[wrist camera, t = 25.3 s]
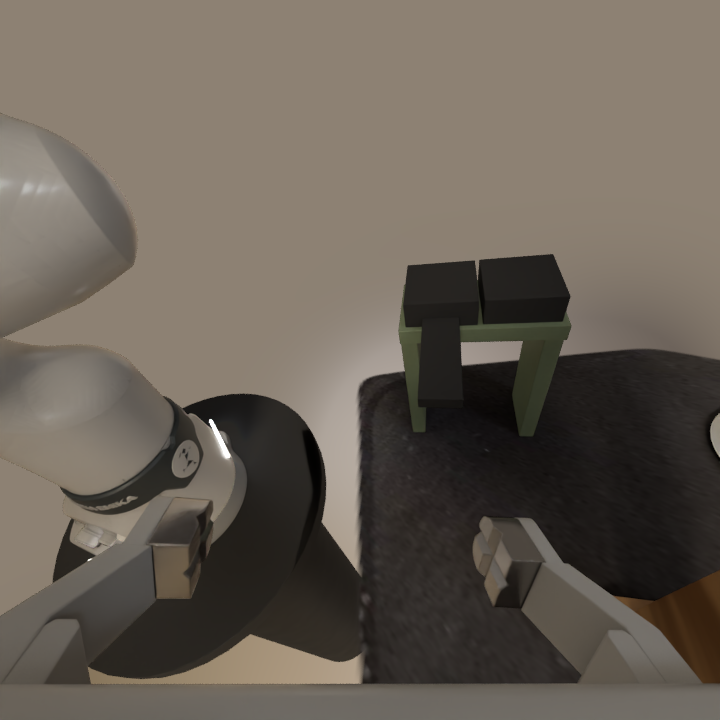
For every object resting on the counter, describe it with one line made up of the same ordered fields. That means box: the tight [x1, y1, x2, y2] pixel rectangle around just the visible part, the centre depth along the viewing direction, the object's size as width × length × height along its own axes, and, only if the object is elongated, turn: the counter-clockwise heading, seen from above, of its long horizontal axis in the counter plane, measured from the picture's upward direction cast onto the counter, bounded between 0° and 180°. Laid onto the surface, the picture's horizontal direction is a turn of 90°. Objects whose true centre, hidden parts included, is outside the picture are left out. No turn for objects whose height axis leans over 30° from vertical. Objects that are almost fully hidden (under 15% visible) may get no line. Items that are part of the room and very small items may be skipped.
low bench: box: [399, 280, 571, 436], centre depth 37 cm, size 14×7×17 cm, turn 81°
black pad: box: [403, 261, 479, 408], centre depth 28 cm, size 6×14×2 cm, turn 171°
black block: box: [478, 254, 570, 324], centre depth 29 cm, size 6×6×2 cm
